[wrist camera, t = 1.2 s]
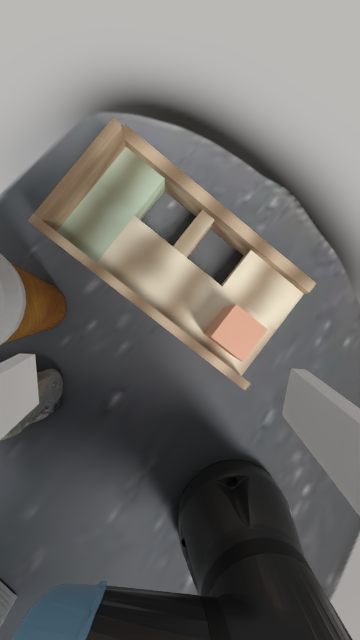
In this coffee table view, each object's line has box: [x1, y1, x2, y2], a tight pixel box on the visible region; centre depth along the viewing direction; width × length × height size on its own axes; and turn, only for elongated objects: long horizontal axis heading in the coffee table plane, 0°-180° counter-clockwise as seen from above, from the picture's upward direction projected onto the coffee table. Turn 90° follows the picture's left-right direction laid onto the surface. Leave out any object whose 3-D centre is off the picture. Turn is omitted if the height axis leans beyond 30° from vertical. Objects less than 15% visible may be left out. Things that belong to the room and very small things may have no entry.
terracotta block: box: [204, 304, 268, 362], centre depth 24 cm, size 4×4×4 cm
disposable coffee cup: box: [0, 254, 66, 345], centre depth 21 cm, size 10×10×12 cm
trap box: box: [28, 118, 316, 390], centre depth 26 cm, size 30×16×6 cm, turn 52°
